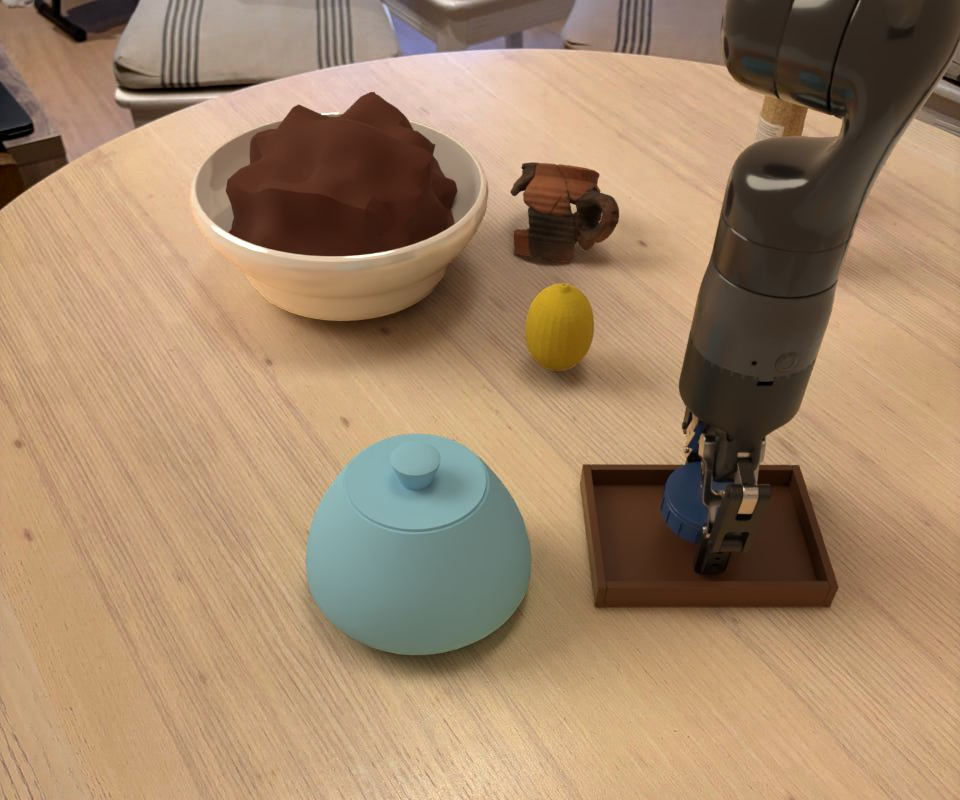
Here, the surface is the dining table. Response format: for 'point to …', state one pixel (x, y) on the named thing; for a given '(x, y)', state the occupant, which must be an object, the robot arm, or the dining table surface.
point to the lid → (685, 502)
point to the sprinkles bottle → (779, 119)
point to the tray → (669, 558)
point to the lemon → (559, 327)
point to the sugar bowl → (417, 547)
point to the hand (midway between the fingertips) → (700, 533)
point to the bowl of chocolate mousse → (341, 208)
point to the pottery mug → (562, 211)
